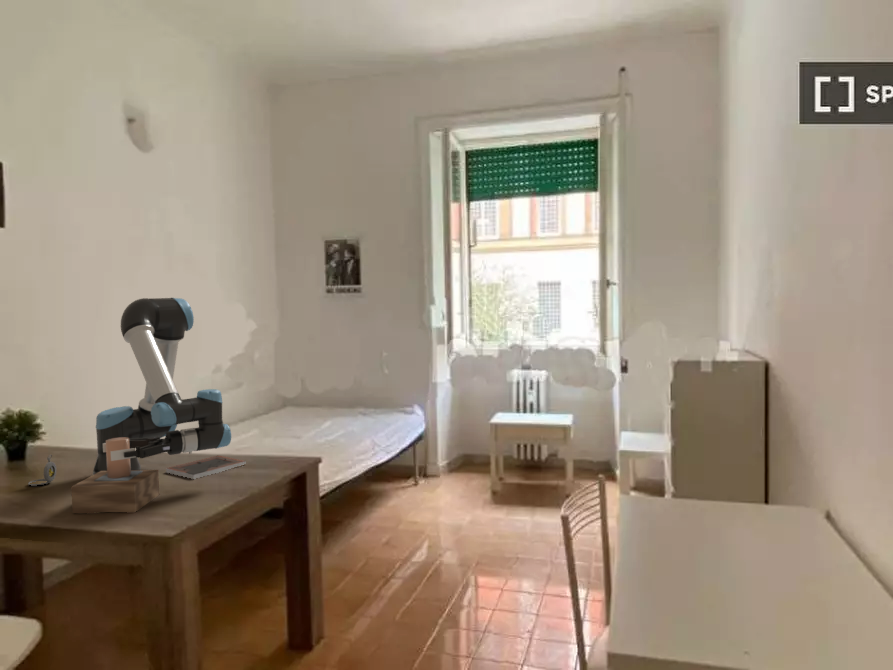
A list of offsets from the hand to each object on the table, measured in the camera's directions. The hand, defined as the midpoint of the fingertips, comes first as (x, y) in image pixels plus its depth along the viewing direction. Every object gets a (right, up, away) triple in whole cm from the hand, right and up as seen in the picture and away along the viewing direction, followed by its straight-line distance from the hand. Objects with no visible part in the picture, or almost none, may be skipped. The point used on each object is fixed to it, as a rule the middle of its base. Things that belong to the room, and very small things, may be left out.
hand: (106, 451), depth 197 cm
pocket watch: (-34, -15, +24) cm, 44 cm away
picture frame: (+15, -14, +40) cm, 45 cm away
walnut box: (+3, -16, +1) cm, 16 cm away
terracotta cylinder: (+3, -8, +2) cm, 8 cm away
